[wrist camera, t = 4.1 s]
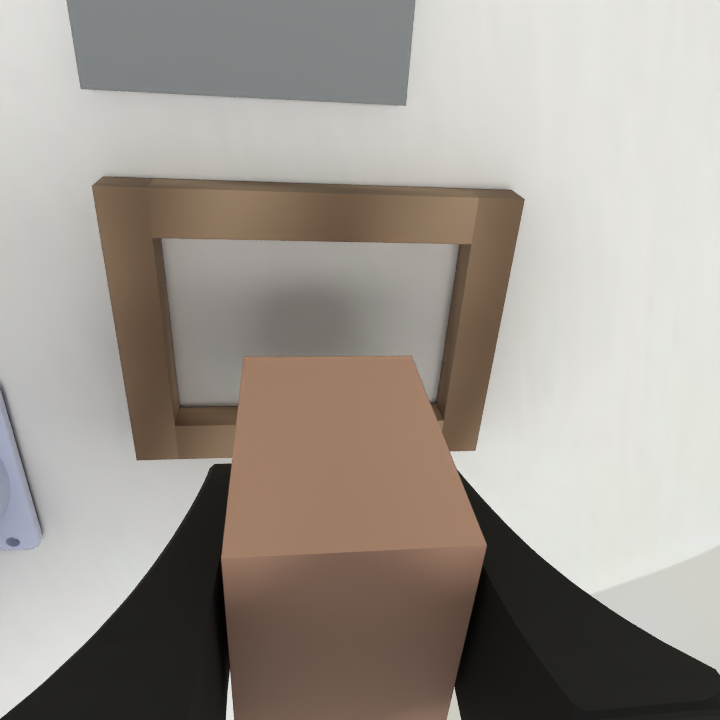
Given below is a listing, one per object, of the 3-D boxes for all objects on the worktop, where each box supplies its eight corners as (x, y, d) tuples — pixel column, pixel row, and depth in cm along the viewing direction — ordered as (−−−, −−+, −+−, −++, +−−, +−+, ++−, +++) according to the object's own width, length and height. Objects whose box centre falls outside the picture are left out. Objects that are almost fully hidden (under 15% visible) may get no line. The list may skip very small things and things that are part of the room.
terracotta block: (250, 515, 16) (236, 747, 11) (243, 356, 14) (220, 558, 8) (393, 509, 17) (444, 727, 11) (411, 355, 14) (487, 545, 9)
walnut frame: (143, 440, 23) (136, 460, 22) (103, 177, 18) (92, 185, 17) (466, 432, 24) (475, 450, 23) (511, 190, 19) (524, 199, 18)
